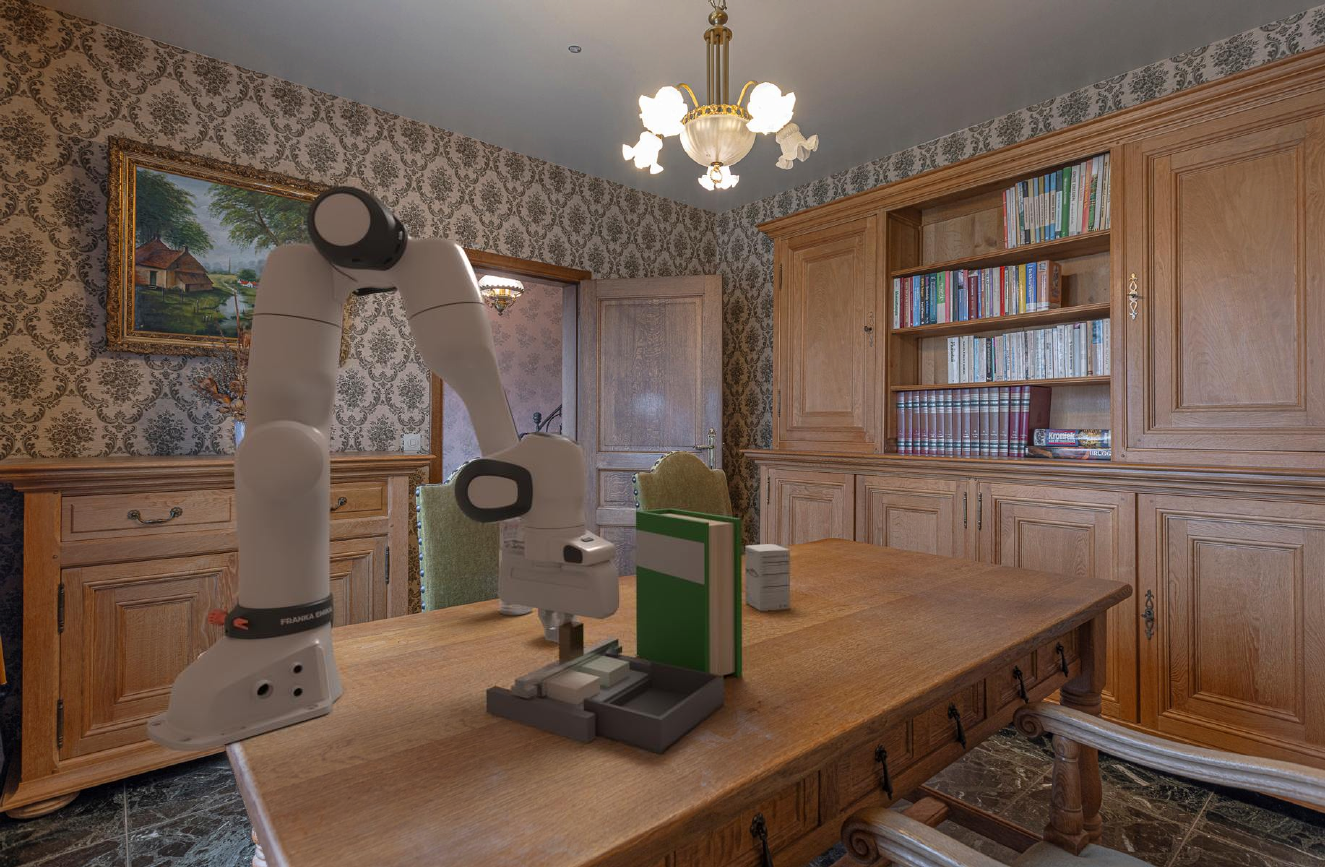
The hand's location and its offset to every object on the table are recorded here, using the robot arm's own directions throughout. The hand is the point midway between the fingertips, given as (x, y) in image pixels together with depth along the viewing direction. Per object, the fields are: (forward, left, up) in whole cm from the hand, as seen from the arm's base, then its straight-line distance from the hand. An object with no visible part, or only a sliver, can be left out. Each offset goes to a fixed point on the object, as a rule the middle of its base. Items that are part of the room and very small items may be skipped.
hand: (556, 640), depth 95 cm
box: (0, -17, -7) cm, 18 cm away
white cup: (+20, +16, -8) cm, 27 cm away
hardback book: (+19, -11, -8) cm, 23 cm away
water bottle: (+28, +35, -8) cm, 45 cm away
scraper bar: (0, -3, -5) cm, 6 cm away
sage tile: (+3, -6, -5) cm, 9 cm away
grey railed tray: (0, -5, -7) cm, 9 cm away
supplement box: (+59, -8, -8) cm, 60 cm away
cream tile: (-4, -6, -5) cm, 9 cm away
